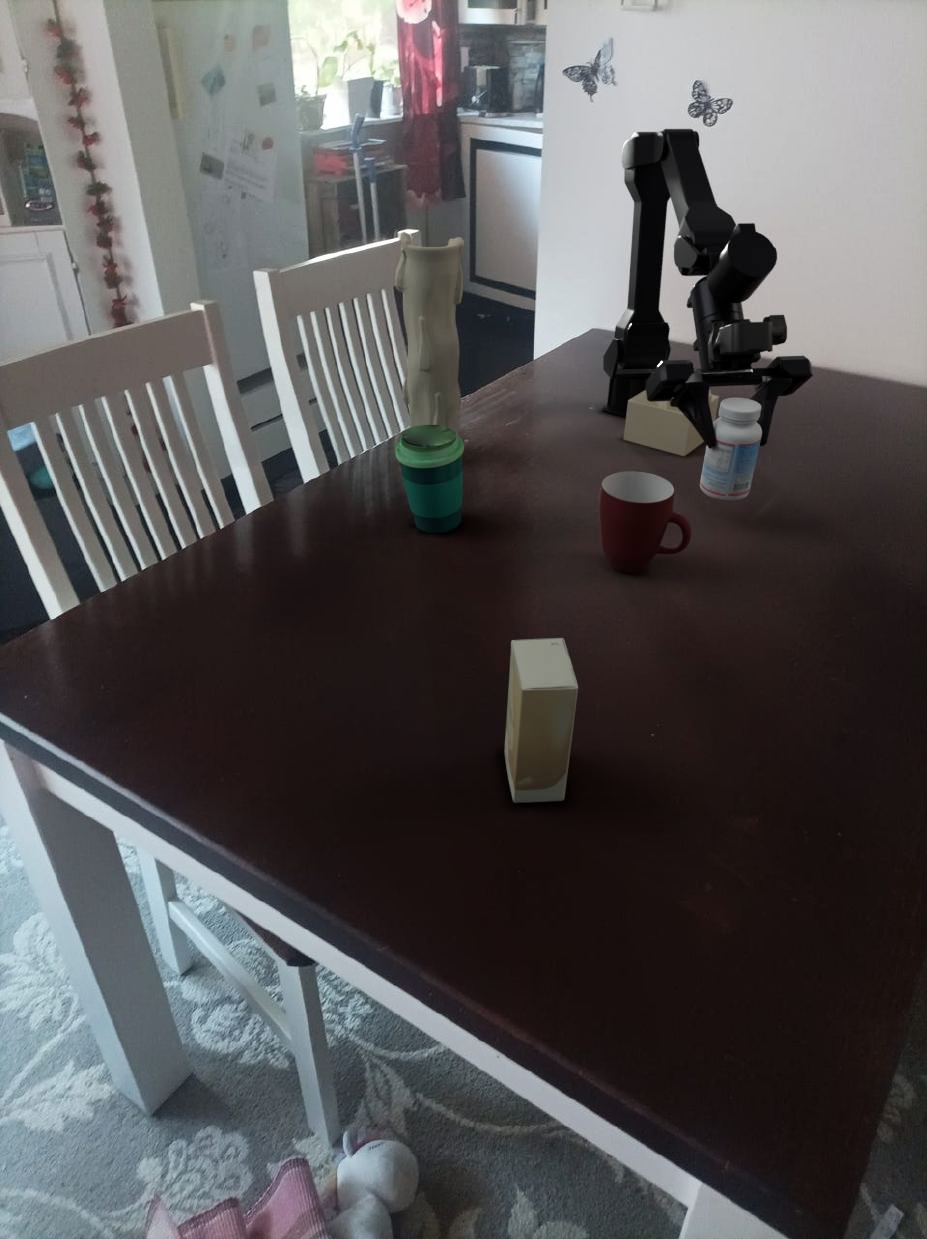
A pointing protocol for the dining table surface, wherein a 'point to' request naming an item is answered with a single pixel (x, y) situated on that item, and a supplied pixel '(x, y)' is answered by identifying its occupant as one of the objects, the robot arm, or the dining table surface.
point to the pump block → (662, 425)
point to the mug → (637, 519)
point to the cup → (432, 476)
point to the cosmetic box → (539, 719)
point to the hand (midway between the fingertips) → (737, 446)
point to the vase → (431, 330)
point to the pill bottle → (732, 450)
